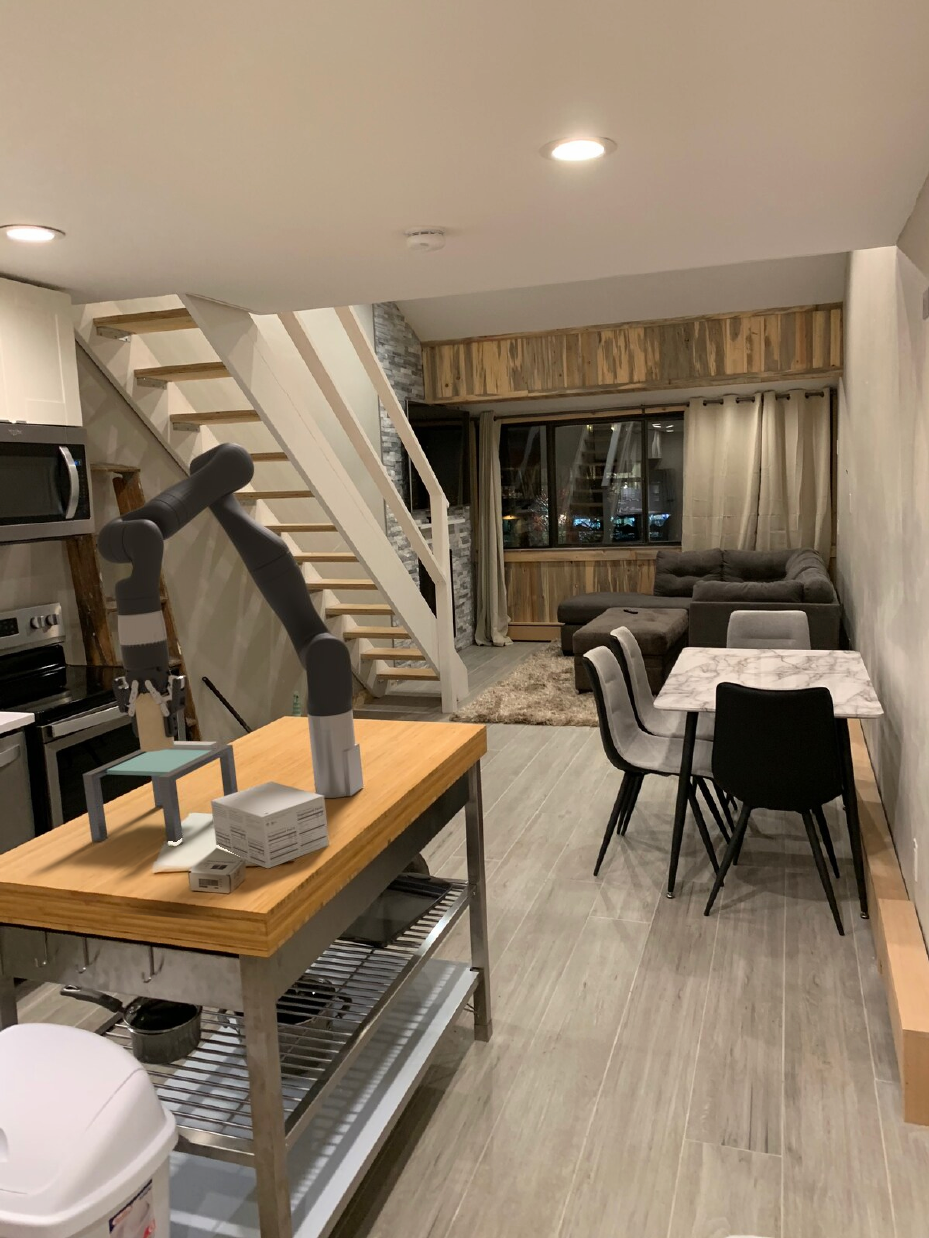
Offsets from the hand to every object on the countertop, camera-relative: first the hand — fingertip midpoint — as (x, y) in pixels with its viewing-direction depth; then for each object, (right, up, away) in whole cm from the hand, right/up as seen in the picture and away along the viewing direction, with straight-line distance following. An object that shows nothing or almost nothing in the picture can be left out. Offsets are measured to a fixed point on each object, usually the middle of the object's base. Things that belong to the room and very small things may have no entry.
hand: (156, 735), depth 159 cm
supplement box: (+19, -21, +7) cm, 29 cm away
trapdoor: (-6, -9, +23) cm, 25 cm away
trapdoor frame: (-5, -20, +23) cm, 31 cm away
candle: (0, -2, 0) cm, 2 cm away
